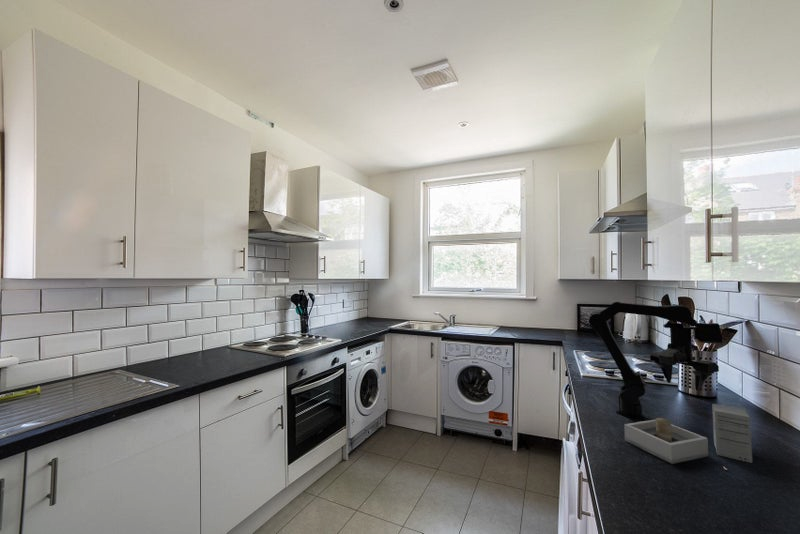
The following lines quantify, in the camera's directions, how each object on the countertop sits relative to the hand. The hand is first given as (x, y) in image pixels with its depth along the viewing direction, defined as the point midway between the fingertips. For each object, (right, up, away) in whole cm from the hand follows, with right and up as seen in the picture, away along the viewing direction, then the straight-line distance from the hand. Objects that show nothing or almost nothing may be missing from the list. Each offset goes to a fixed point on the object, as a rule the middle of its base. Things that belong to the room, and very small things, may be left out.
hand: (682, 386), depth 116 cm
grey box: (-19, -13, -16) cm, 28 cm away
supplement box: (-3, -13, -20) cm, 24 cm away
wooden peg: (-19, -12, -16) cm, 28 cm away
